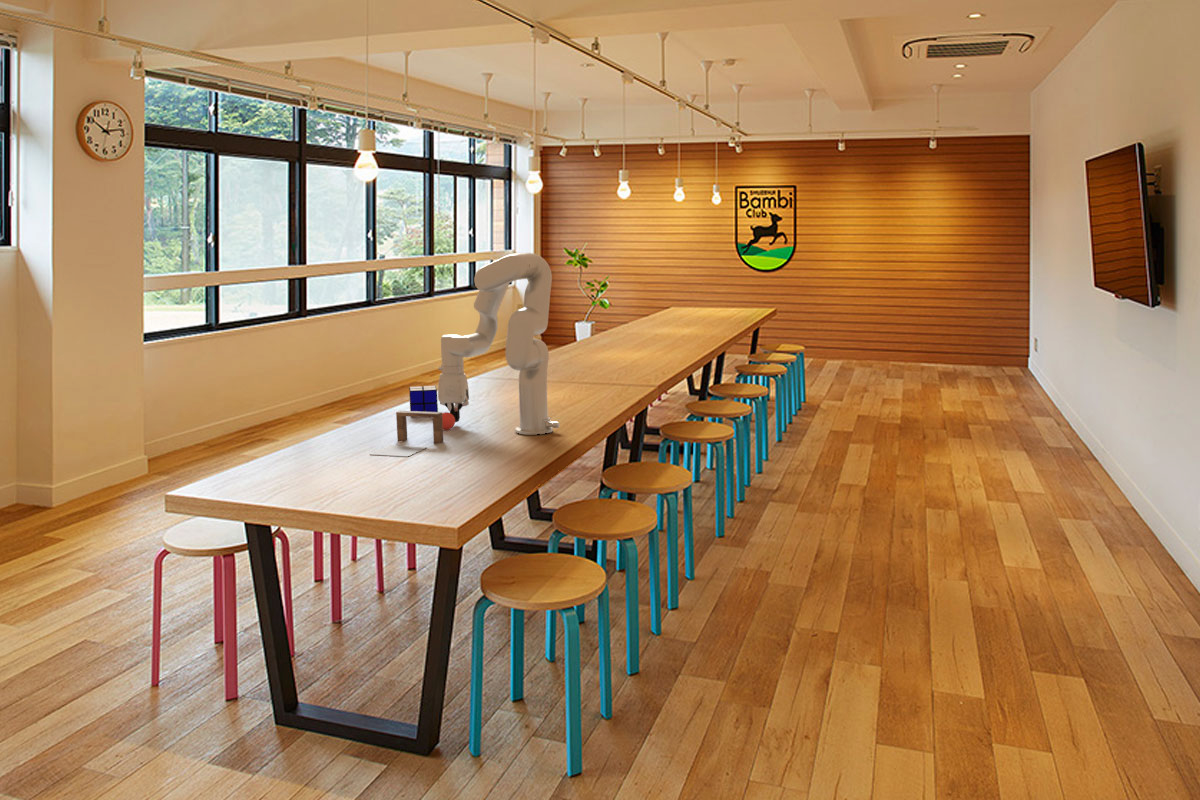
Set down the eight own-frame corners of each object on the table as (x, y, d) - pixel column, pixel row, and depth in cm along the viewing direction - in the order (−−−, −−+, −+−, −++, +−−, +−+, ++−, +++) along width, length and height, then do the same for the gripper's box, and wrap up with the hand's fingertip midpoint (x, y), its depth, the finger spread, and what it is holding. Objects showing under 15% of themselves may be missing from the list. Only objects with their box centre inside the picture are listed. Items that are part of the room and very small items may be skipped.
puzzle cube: (410, 417, 372) (409, 390, 370) (410, 412, 382) (409, 386, 380) (438, 416, 374) (437, 389, 372) (437, 411, 384) (435, 385, 382)
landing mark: (426, 448, 320) (426, 447, 320) (407, 457, 307) (407, 456, 307) (390, 446, 323) (390, 445, 323) (369, 454, 311) (369, 454, 311)
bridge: (401, 439, 333) (400, 410, 331) (443, 441, 329) (442, 412, 327) (397, 441, 330) (396, 412, 329) (439, 443, 326) (438, 414, 324)
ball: (458, 428, 350) (457, 411, 349) (451, 431, 345) (450, 414, 344) (442, 427, 352) (441, 410, 351) (435, 430, 346) (434, 413, 345)
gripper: (428, 370, 350) (430, 422, 354) (467, 372, 346) (469, 424, 349) (438, 367, 357) (440, 418, 361) (477, 369, 353) (479, 420, 356)
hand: (455, 421), depth 355 cm, fingers closed
